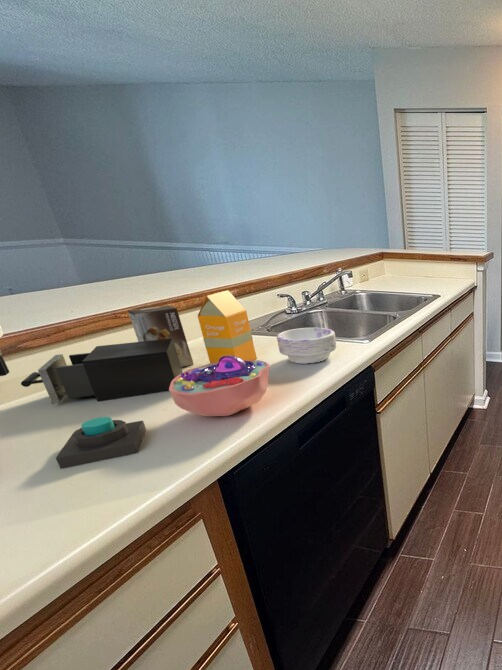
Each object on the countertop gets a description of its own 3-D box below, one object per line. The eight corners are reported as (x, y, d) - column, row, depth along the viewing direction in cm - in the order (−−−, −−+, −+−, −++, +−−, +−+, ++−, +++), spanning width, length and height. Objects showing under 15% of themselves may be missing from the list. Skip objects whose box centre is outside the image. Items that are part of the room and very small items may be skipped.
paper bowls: (347, 352, 130) (343, 327, 127) (321, 369, 116) (317, 341, 113) (300, 349, 132) (296, 325, 129) (269, 366, 118) (264, 338, 115)
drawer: (24, 407, 89) (8, 373, 86) (43, 389, 98) (29, 357, 95) (133, 391, 98) (121, 359, 95) (141, 376, 107) (131, 346, 104)
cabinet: (97, 401, 94) (81, 361, 91) (110, 383, 104) (96, 346, 101) (178, 389, 102) (166, 351, 98) (182, 373, 111) (172, 338, 108)
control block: (60, 469, 70) (51, 448, 69) (77, 442, 78) (69, 423, 76) (137, 453, 75) (130, 433, 74) (146, 430, 83) (140, 411, 81)
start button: (81, 438, 73) (78, 429, 72) (88, 428, 76) (84, 419, 75) (112, 432, 75) (109, 423, 74) (117, 423, 78) (114, 415, 77)
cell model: (154, 427, 84) (136, 374, 80) (229, 389, 102) (218, 344, 98) (230, 434, 82) (216, 380, 78) (294, 394, 100) (285, 348, 96)
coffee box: (185, 360, 121) (169, 304, 115) (194, 364, 117) (178, 307, 111) (146, 368, 114) (126, 309, 108) (153, 373, 111) (134, 313, 105)
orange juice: (257, 358, 123) (242, 289, 116) (238, 369, 115) (221, 295, 108) (230, 357, 123) (214, 289, 116) (210, 368, 115) (190, 294, 108)
